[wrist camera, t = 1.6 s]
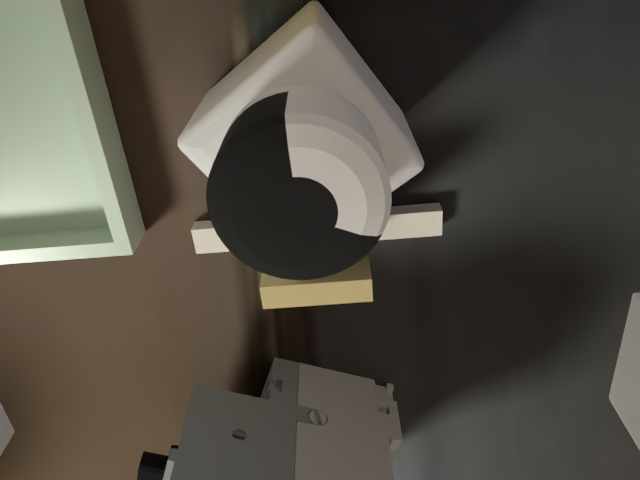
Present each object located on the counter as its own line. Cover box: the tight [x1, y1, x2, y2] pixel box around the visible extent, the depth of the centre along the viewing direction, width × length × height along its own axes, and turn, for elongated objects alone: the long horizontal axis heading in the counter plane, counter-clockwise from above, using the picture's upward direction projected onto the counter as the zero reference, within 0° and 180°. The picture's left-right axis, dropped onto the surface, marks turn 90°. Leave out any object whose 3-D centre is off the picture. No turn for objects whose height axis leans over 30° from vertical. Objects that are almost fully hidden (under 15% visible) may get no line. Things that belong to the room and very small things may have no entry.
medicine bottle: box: [178, 0, 424, 280], centre depth 23 cm, size 7×7×12 cm
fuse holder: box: [191, 203, 443, 309], centre depth 25 cm, size 14×15×7 cm
